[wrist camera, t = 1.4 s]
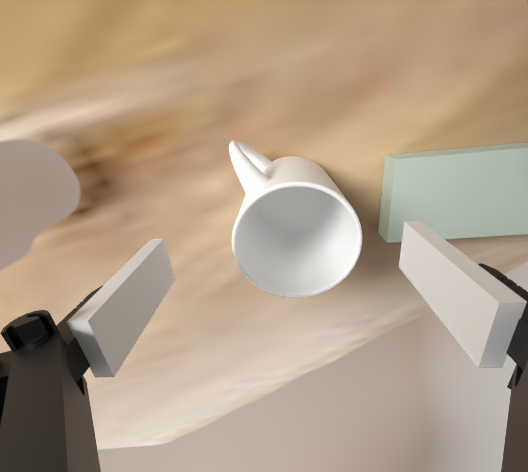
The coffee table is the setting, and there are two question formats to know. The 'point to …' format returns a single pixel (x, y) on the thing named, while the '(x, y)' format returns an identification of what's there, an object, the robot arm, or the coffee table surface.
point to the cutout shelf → (457, 192)
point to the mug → (292, 225)
